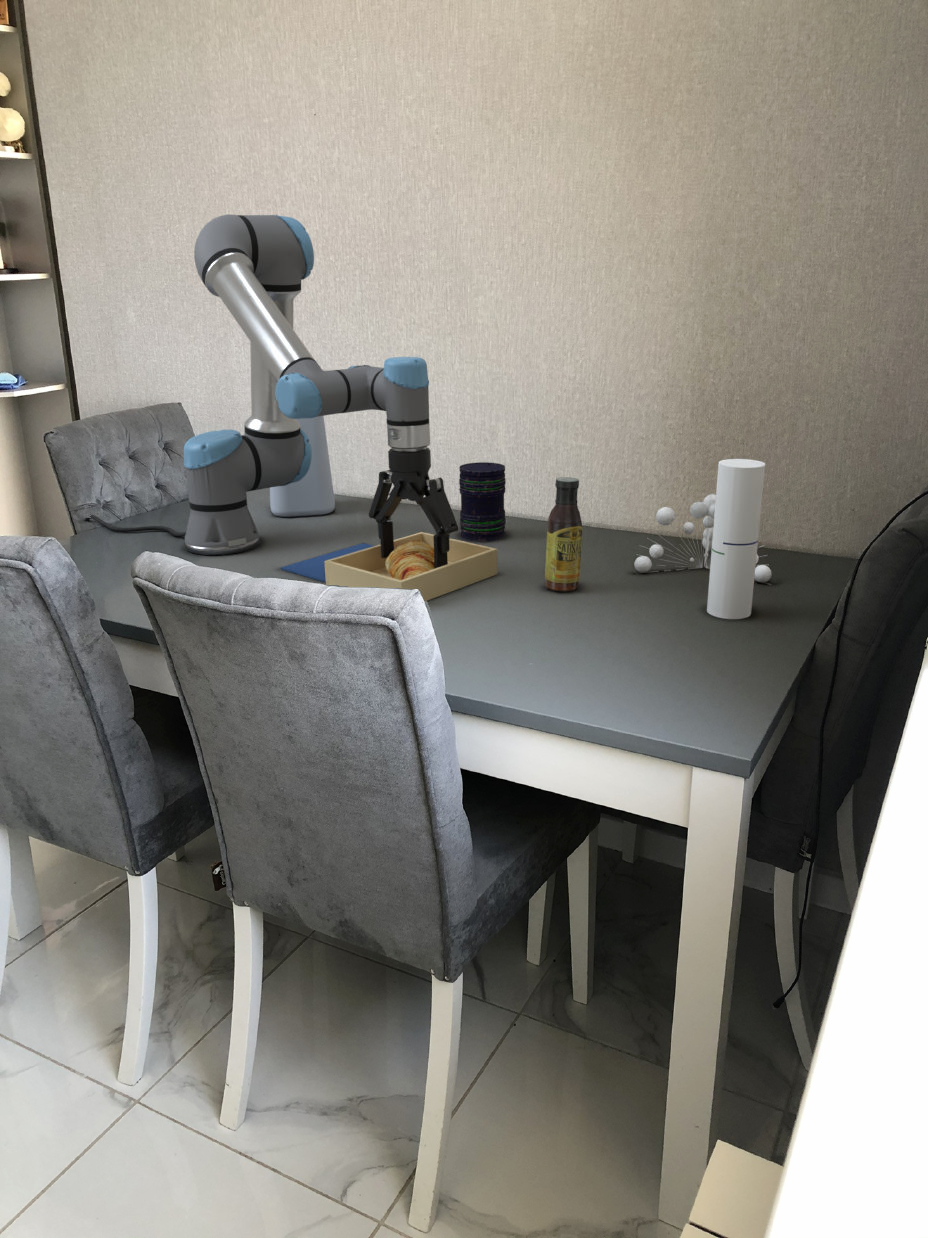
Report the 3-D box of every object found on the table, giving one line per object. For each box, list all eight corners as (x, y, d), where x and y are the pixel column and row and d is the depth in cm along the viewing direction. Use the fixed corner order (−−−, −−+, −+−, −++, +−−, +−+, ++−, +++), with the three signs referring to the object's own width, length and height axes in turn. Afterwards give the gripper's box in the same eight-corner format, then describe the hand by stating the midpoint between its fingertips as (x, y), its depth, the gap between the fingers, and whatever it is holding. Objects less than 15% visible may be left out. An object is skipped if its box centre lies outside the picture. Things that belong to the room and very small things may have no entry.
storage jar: (490, 544, 202) (490, 473, 197) (451, 538, 207) (449, 469, 202) (513, 533, 210) (514, 464, 205) (475, 527, 215) (474, 460, 210)
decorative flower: (609, 555, 193) (612, 485, 188) (713, 547, 198) (718, 479, 193) (658, 594, 170) (663, 516, 166) (774, 584, 175) (782, 508, 170)
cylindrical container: (743, 622, 157) (757, 469, 148) (700, 614, 160) (712, 465, 152) (756, 609, 163) (770, 461, 154) (714, 602, 166) (726, 457, 157)
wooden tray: (325, 587, 177) (324, 561, 175) (422, 555, 195) (421, 531, 193) (402, 610, 165) (401, 582, 163) (497, 574, 183) (497, 548, 181)
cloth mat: (280, 569, 187) (280, 567, 187) (363, 544, 203) (363, 542, 203) (329, 583, 179) (328, 581, 179) (411, 556, 194) (411, 554, 194)
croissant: (436, 613, 171) (456, 574, 169) (385, 590, 168) (405, 551, 166) (423, 574, 191) (441, 539, 189) (377, 554, 188) (395, 518, 186)
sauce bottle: (556, 595, 171) (559, 484, 164) (538, 585, 176) (539, 477, 169) (587, 589, 173) (591, 480, 167) (568, 580, 179) (571, 473, 172)
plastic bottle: (271, 519, 224) (261, 396, 214) (270, 504, 238) (260, 388, 228) (336, 515, 227) (329, 394, 217) (332, 500, 241) (324, 386, 231)
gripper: (345, 444, 176) (352, 555, 183) (447, 458, 161) (450, 579, 168) (375, 438, 181) (381, 547, 189) (476, 451, 166) (478, 569, 173)
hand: (413, 563), depth 178 cm, fingers closed on croissant, 13 cm apart
